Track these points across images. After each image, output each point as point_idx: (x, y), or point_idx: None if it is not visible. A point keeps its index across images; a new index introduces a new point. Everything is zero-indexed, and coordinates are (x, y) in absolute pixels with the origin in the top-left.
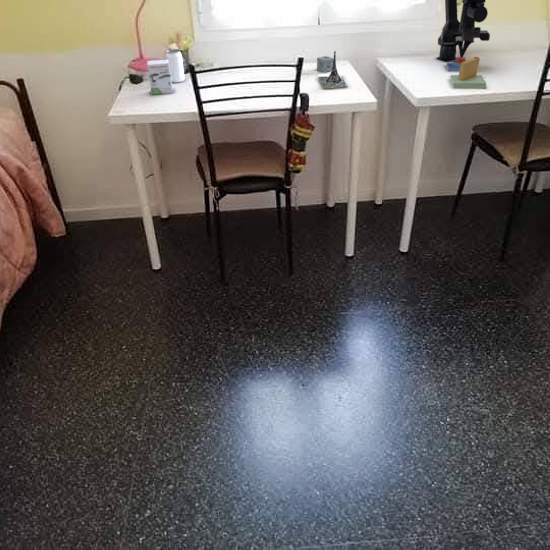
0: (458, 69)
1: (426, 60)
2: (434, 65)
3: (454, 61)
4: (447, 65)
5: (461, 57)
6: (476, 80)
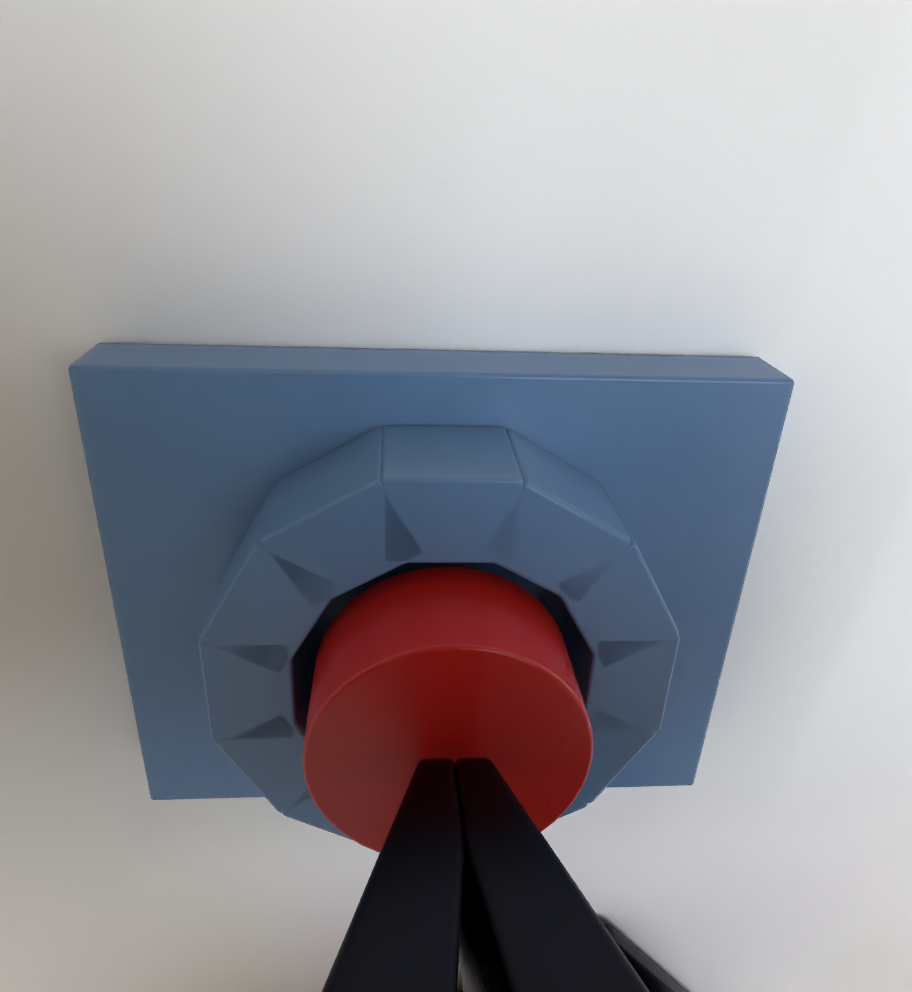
0: (515, 367)
1: (904, 966)
2: (891, 752)
3: (625, 674)
4: (724, 644)
5: None
6: None
